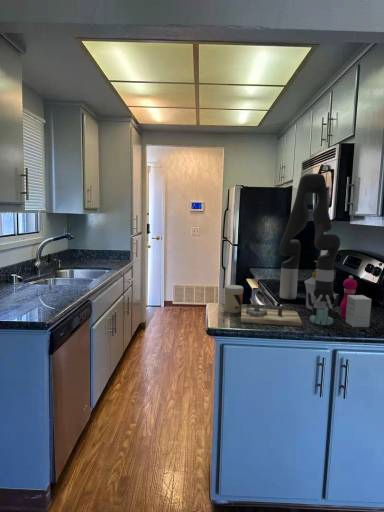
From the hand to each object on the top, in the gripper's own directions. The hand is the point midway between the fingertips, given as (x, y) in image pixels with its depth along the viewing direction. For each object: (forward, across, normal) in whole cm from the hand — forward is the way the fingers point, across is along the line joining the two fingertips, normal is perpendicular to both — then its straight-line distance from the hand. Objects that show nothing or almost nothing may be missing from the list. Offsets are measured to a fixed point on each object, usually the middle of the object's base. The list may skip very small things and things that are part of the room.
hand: (321, 315), depth 158 cm
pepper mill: (+3, -14, -10) cm, 17 cm away
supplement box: (+3, -15, +1) cm, 15 cm away
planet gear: (+3, 0, 0) cm, 3 cm away
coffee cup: (+3, +40, -8) cm, 41 cm away
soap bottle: (+3, -1, -20) cm, 21 cm away
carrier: (+3, +23, +1) cm, 23 cm away
